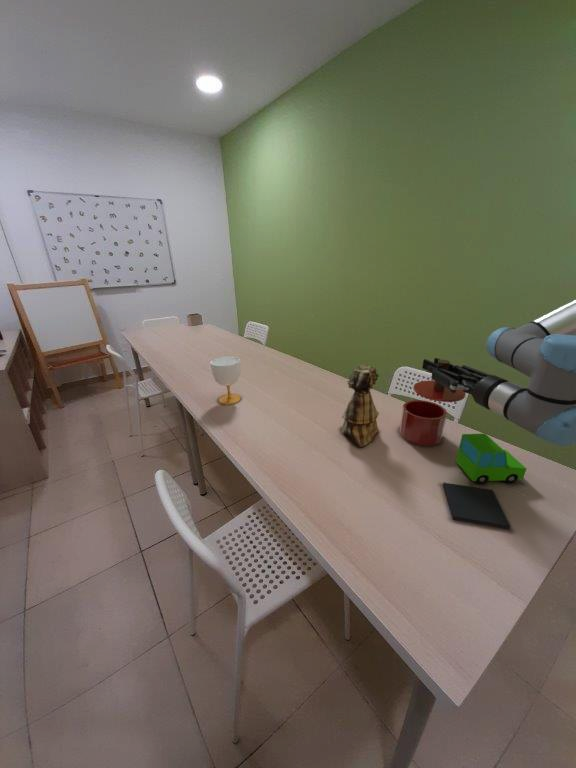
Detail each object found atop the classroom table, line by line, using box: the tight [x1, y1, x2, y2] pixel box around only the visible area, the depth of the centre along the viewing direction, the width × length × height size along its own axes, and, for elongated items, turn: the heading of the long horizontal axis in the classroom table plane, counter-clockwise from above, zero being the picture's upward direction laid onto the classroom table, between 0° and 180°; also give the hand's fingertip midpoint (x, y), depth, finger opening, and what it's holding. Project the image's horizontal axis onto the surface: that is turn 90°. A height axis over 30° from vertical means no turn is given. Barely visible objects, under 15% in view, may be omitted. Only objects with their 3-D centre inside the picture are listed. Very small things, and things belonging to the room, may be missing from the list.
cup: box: [209, 356, 241, 405], centre depth 122 cm, size 12×12×17 cm
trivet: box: [442, 482, 511, 530], centre depth 70 cm, size 11×11×1 cm
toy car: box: [455, 433, 527, 485], centre depth 78 cm, size 10×13×10 cm
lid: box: [412, 359, 467, 403], centre depth 84 cm, size 13×13×10 cm
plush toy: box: [340, 364, 380, 448], centre depth 95 cm, size 14×14×25 cm
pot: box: [399, 399, 448, 447], centre depth 96 cm, size 13×13×10 cm
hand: (429, 363), depth 88 cm, fingers closed on lid, 3 cm apart
